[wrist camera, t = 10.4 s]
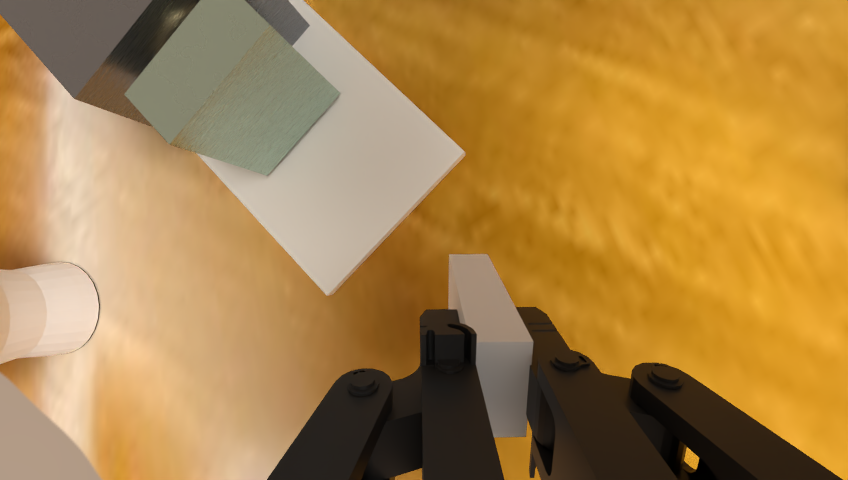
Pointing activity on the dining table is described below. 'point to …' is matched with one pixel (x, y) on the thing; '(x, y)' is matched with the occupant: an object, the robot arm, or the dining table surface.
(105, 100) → the bearing block
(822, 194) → the dining table surface
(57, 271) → the cup
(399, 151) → the base board
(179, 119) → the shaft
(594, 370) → the robot arm
